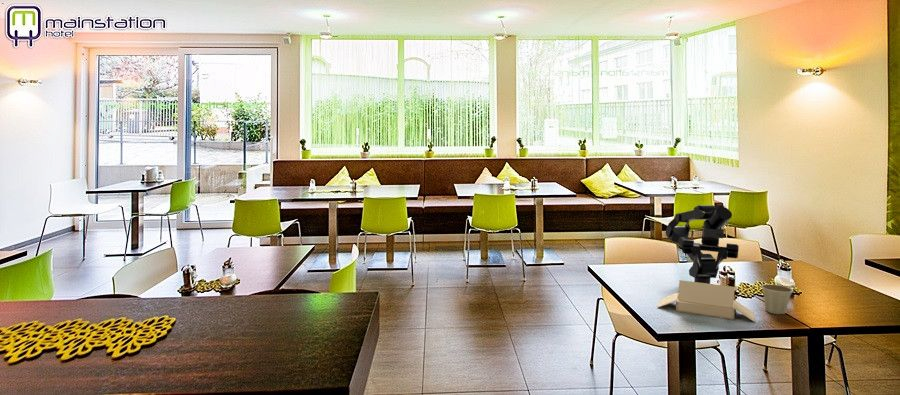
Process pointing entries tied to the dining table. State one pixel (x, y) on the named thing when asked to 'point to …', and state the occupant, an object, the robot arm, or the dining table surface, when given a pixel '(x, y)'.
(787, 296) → the flower pot
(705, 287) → the flap
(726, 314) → the carton
